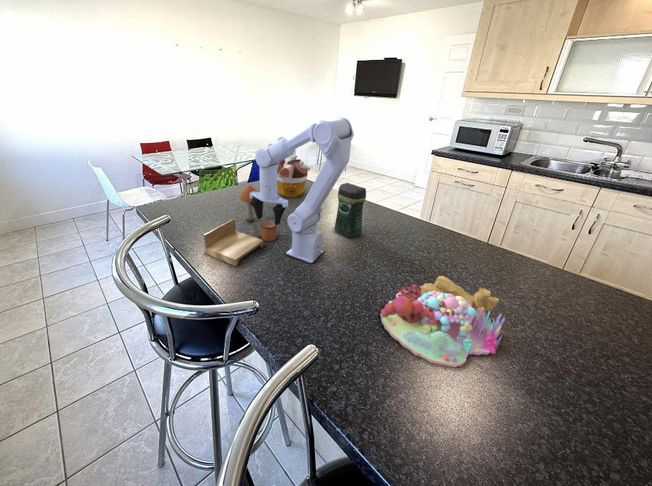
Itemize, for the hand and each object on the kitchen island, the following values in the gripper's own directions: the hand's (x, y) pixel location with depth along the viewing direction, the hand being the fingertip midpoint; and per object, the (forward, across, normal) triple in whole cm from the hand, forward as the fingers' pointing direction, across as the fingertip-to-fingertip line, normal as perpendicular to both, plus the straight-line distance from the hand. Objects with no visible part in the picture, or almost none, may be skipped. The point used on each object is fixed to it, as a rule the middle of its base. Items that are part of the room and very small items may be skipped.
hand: (268, 221), depth 103 cm
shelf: (+6, +4, +13) cm, 15 cm away
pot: (+6, 0, 0) cm, 7 cm away
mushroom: (+7, +14, -7) cm, 17 cm away
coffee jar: (+7, -22, -20) cm, 31 cm away
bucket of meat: (+7, +17, -42) cm, 46 cm away
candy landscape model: (+6, -57, +11) cm, 59 cm away
